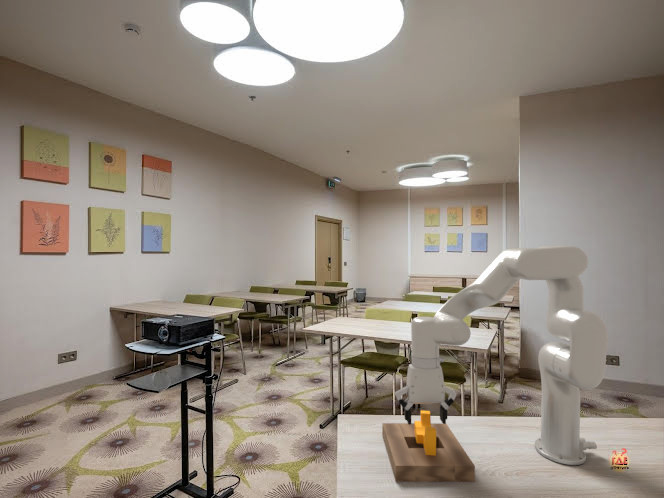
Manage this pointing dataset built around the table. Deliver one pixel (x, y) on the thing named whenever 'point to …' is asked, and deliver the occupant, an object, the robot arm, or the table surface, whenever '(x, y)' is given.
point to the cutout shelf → (420, 467)
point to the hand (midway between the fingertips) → (425, 421)
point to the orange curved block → (426, 433)
